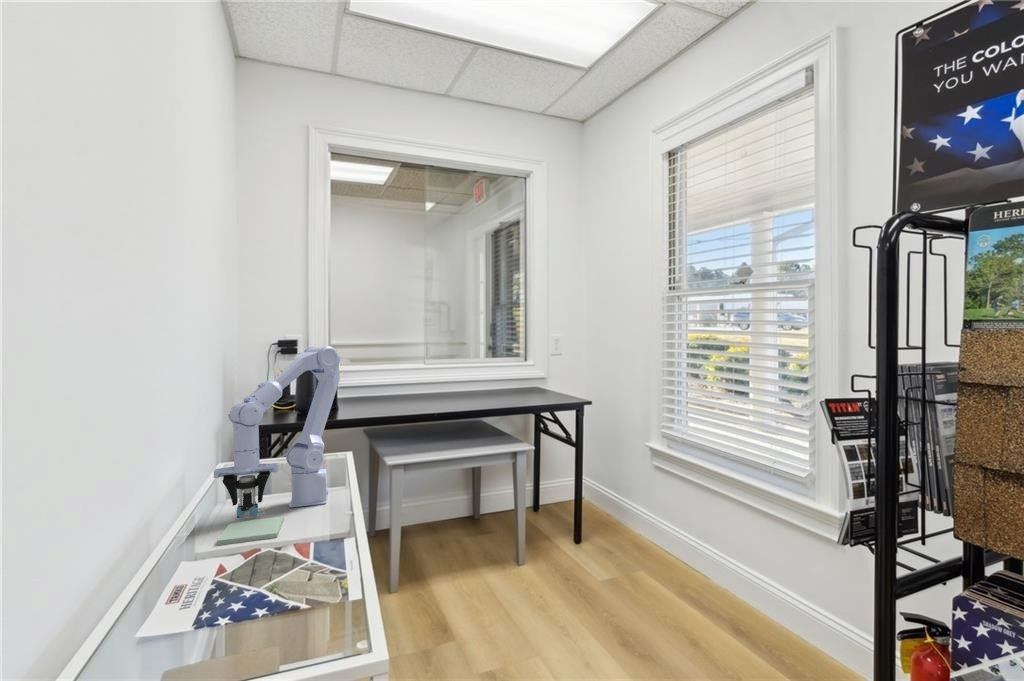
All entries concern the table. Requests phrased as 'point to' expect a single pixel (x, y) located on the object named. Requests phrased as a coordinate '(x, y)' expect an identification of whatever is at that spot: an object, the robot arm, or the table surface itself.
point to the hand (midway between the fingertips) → (247, 502)
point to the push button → (247, 497)
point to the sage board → (251, 530)
